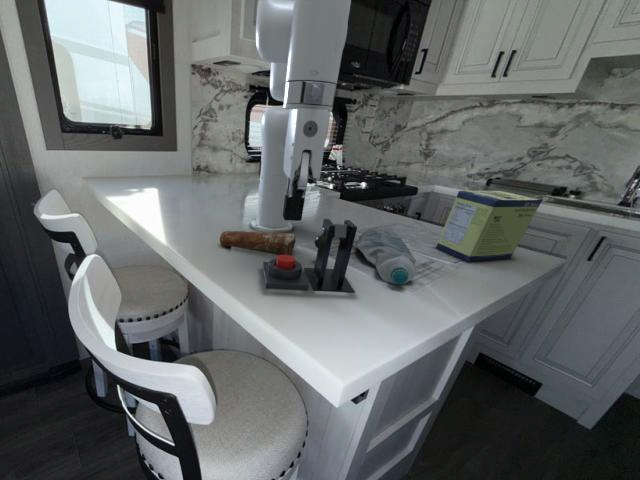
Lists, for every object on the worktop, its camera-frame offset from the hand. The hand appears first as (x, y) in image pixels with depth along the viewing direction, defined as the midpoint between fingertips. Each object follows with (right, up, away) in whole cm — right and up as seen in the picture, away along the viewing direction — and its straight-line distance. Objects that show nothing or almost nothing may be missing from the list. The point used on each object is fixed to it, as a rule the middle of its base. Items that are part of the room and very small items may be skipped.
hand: (291, 218), depth 56 cm
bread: (-6, -3, +21) cm, 22 cm away
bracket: (+8, -12, +7) cm, 16 cm away
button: (0, -8, +5) cm, 9 cm away
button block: (-1, -11, +7) cm, 13 cm away
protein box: (+54, -2, +28) cm, 61 cm away
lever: (+9, -4, +6) cm, 11 cm away
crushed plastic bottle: (+24, -8, +15) cm, 29 cm away
